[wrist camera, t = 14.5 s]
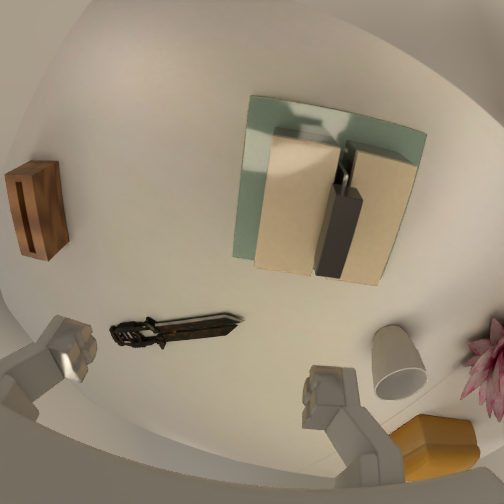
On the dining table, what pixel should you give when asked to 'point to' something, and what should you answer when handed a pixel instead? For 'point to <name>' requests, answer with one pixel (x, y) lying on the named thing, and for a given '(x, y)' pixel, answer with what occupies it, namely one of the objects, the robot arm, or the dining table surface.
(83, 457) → the robot arm
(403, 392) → the cup
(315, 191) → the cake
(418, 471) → the bread
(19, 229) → the knife block
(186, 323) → the knife
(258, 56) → the dining table surface
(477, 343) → the decorative flower
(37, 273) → the dining table surface
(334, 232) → the metal bench scraper
